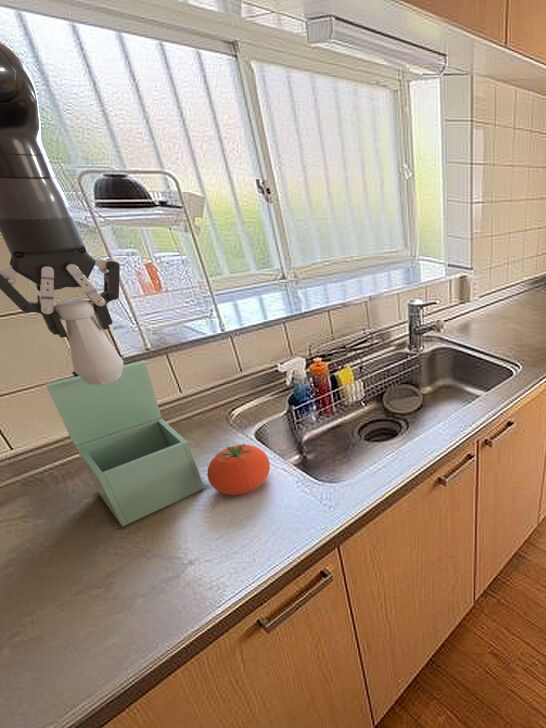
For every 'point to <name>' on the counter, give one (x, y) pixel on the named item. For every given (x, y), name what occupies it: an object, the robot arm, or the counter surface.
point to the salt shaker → (89, 344)
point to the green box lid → (105, 403)
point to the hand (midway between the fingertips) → (84, 331)
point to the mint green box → (141, 469)
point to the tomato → (238, 469)
